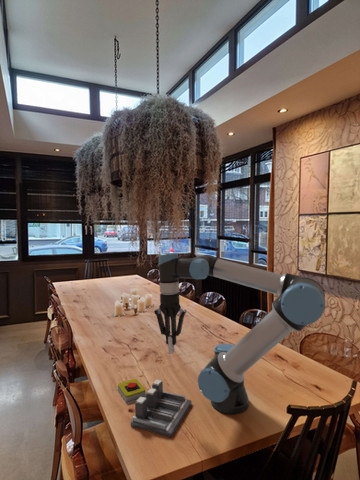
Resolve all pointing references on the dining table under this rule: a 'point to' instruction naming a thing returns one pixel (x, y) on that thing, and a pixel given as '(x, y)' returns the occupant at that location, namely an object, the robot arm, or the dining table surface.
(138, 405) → the block
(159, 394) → the breaker far
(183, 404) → the panel
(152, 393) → the block
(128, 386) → the emergency button
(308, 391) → the dining table surface
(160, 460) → the dining table surface
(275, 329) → the robot arm
